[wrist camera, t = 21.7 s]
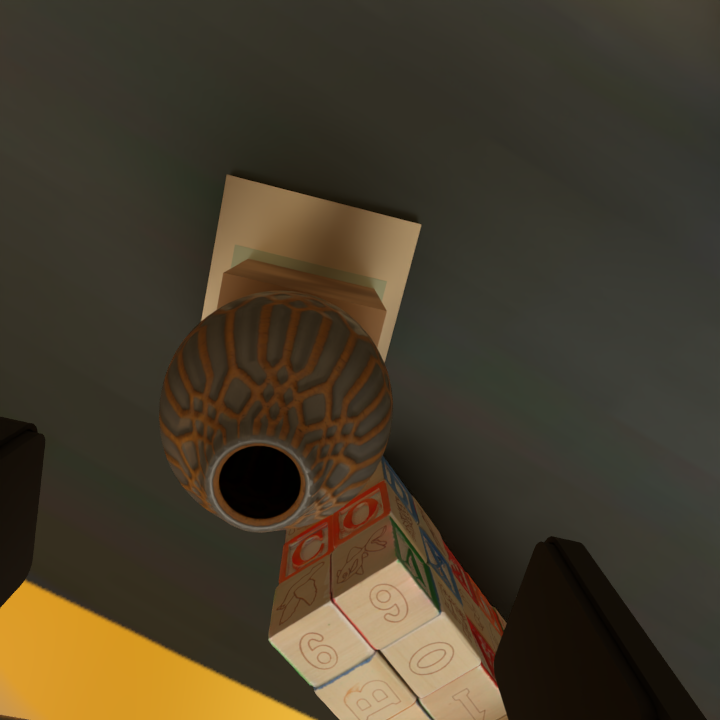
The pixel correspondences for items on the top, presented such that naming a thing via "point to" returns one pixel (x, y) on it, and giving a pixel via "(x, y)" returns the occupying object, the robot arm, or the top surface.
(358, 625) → the stack of blocks
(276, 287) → the teak cube
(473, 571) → the top surface
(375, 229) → the beige flat rectangular piece
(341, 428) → the vase
